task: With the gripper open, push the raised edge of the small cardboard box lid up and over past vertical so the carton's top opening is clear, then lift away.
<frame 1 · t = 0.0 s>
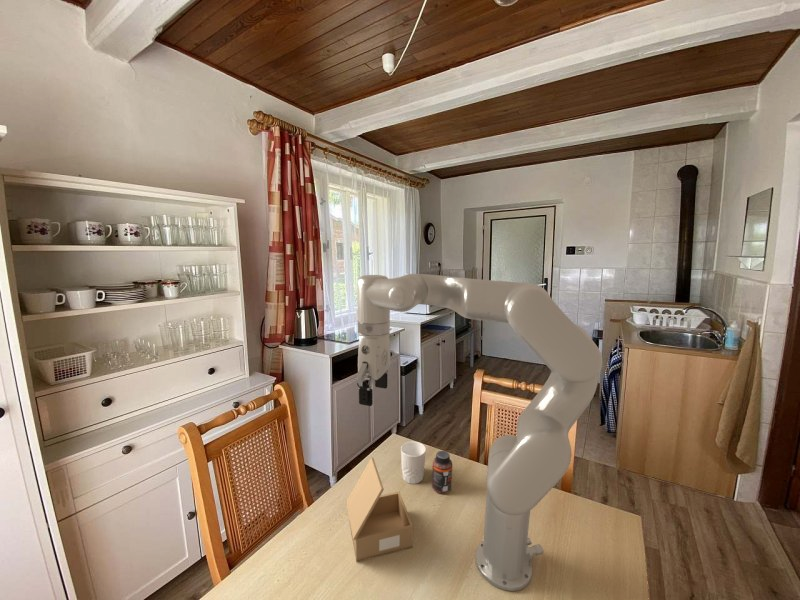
hand: (373, 395, 83), 37 cm above the table, tool pointing down, fingers open, 9 cm apart
supplement bottle: (441, 488, 104), on the table
carton: (379, 533, 87), on the table
cardboard box lid: (363, 496, 84), point 12 cm above the table, hinge at 60.0°
white cup: (412, 477, 109), on the table
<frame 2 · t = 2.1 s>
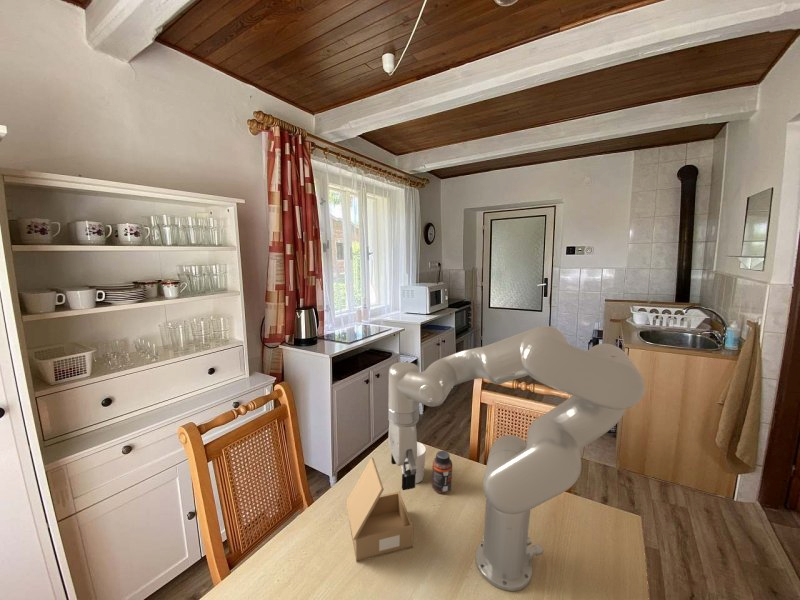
hand: (402, 475, 86), 16 cm above the table, tool pointing down, fingers open, 9 cm apart
nothing on the table moved.
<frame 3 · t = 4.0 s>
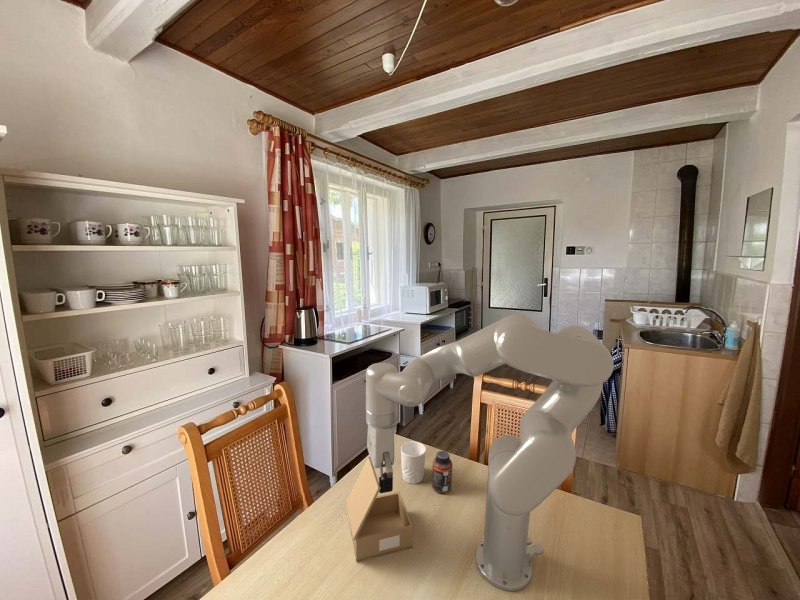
hand: (381, 477, 85), 16 cm above the table, tool pointing down
cardboard box lid: (362, 495, 84), point 12 cm above the table, hinge at 63.7°, touching gripper
everything else where it was.
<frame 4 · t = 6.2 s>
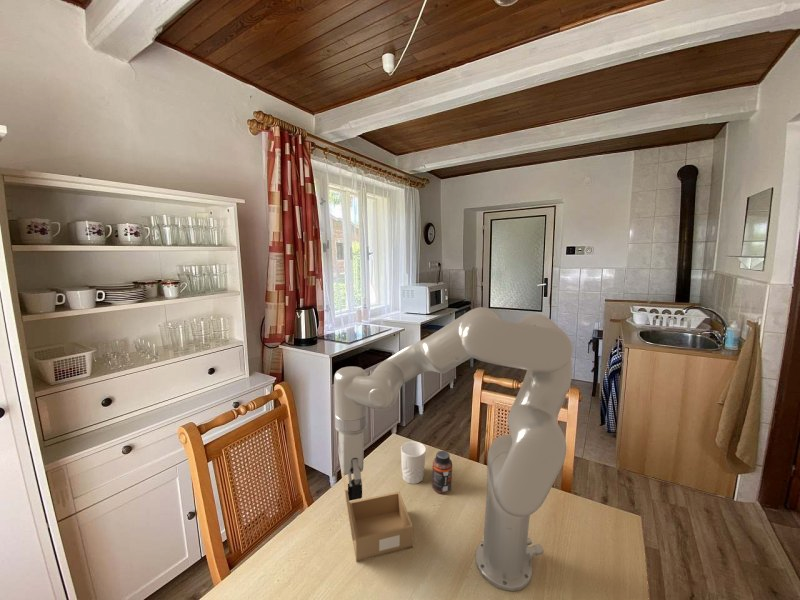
hand: (352, 484, 83), 16 cm above the table, tool pointing down
cardboard box lid: (346, 497, 83), point 13 cm above the table, hinge at 96.6°, touching gripper
everything else where it was.
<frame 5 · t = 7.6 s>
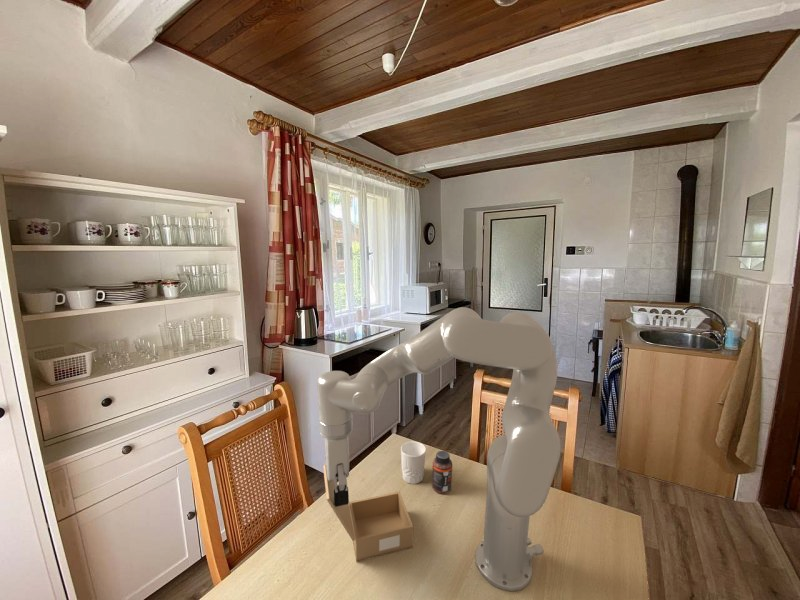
hand: (339, 489, 82), 15 cm above the table, tool pointing down
cardboard box lid: (338, 501, 82), point 12 cm above the table, hinge at 114.6°, touching gripper
everything else where it was.
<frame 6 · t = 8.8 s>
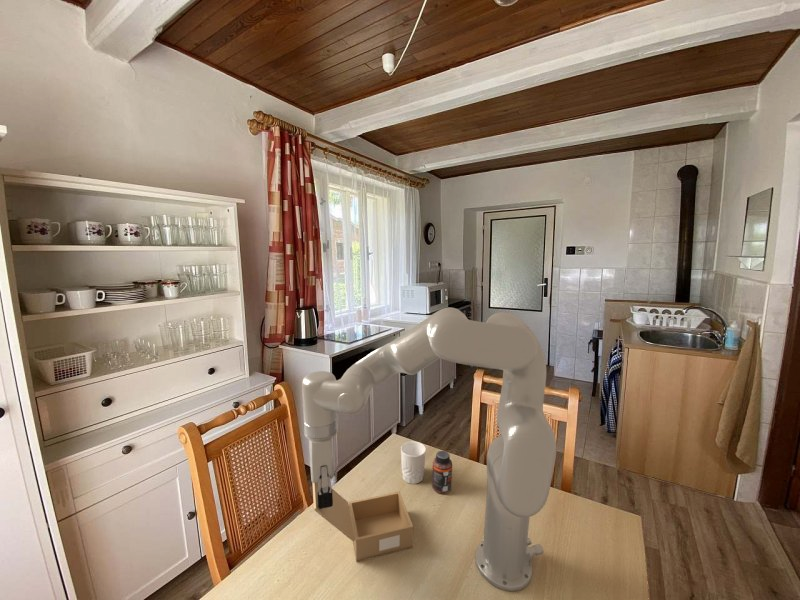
hand: (324, 491, 81), 15 cm above the table, tool pointing down
cardboard box lid: (332, 505, 82), point 11 cm above the table, hinge at 128.9°, touching gripper
everything else where it was.
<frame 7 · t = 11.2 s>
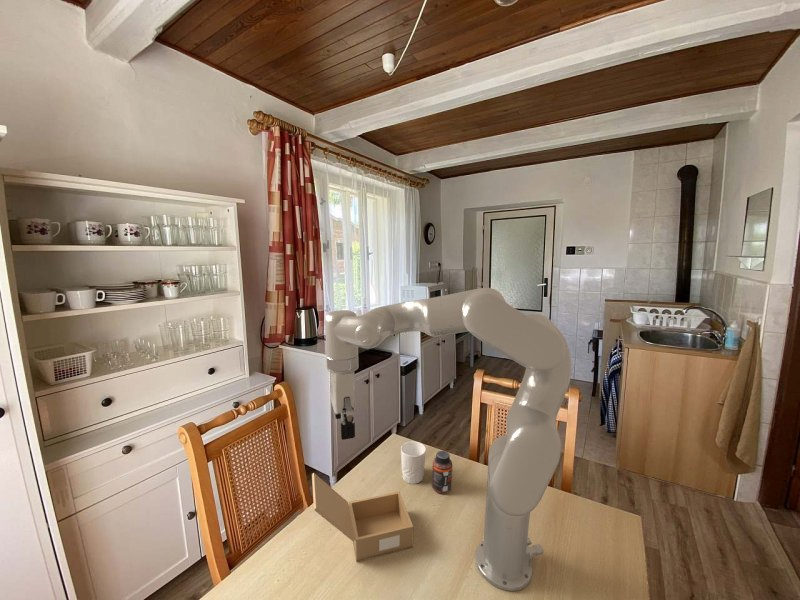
hand: (344, 427, 84), 29 cm above the table, tool pointing down, fingers open, 9 cm apart
cardboard box lid: (332, 505, 82), point 11 cm above the table, hinge at 128.9°
everything else where it was.
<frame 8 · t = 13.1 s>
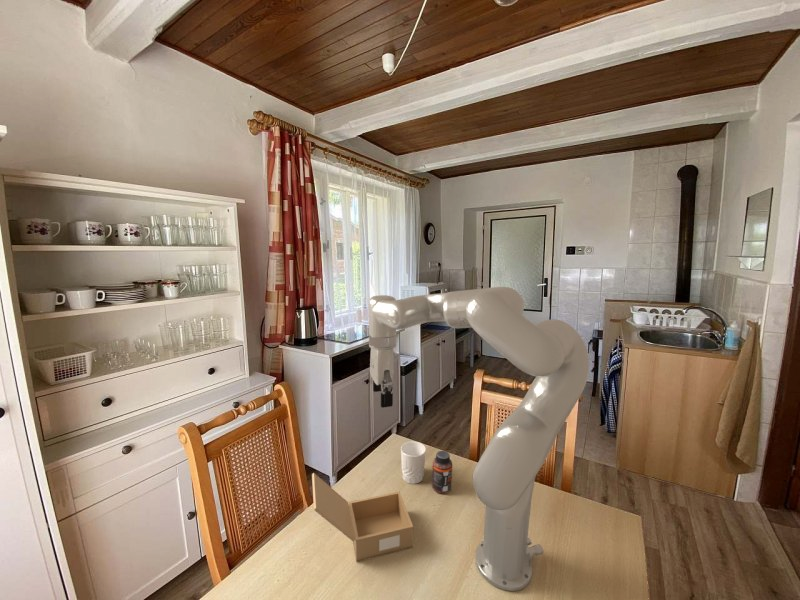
hand: (382, 398, 96), 30 cm above the table, tool pointing down, fingers open, 9 cm apart
nothing on the table moved.
at the end: cardboard box lid at +129° (first picture: +60°) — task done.
